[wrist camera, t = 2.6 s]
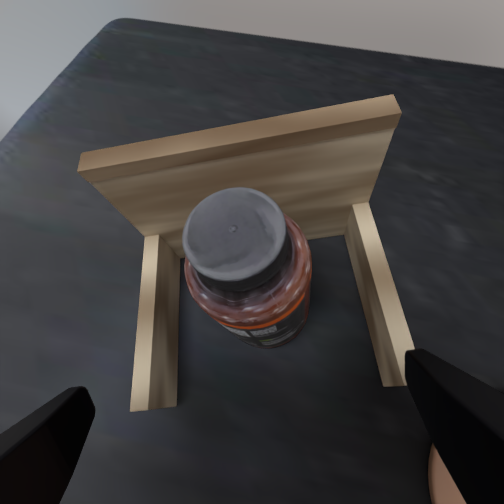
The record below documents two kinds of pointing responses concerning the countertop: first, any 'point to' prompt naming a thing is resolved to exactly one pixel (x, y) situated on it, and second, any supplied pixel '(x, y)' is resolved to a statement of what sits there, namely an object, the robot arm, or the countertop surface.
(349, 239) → the wooden bench
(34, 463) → the robot arm
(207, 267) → the supplement bottle
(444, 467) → the peach rounded disc
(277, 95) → the countertop surface
